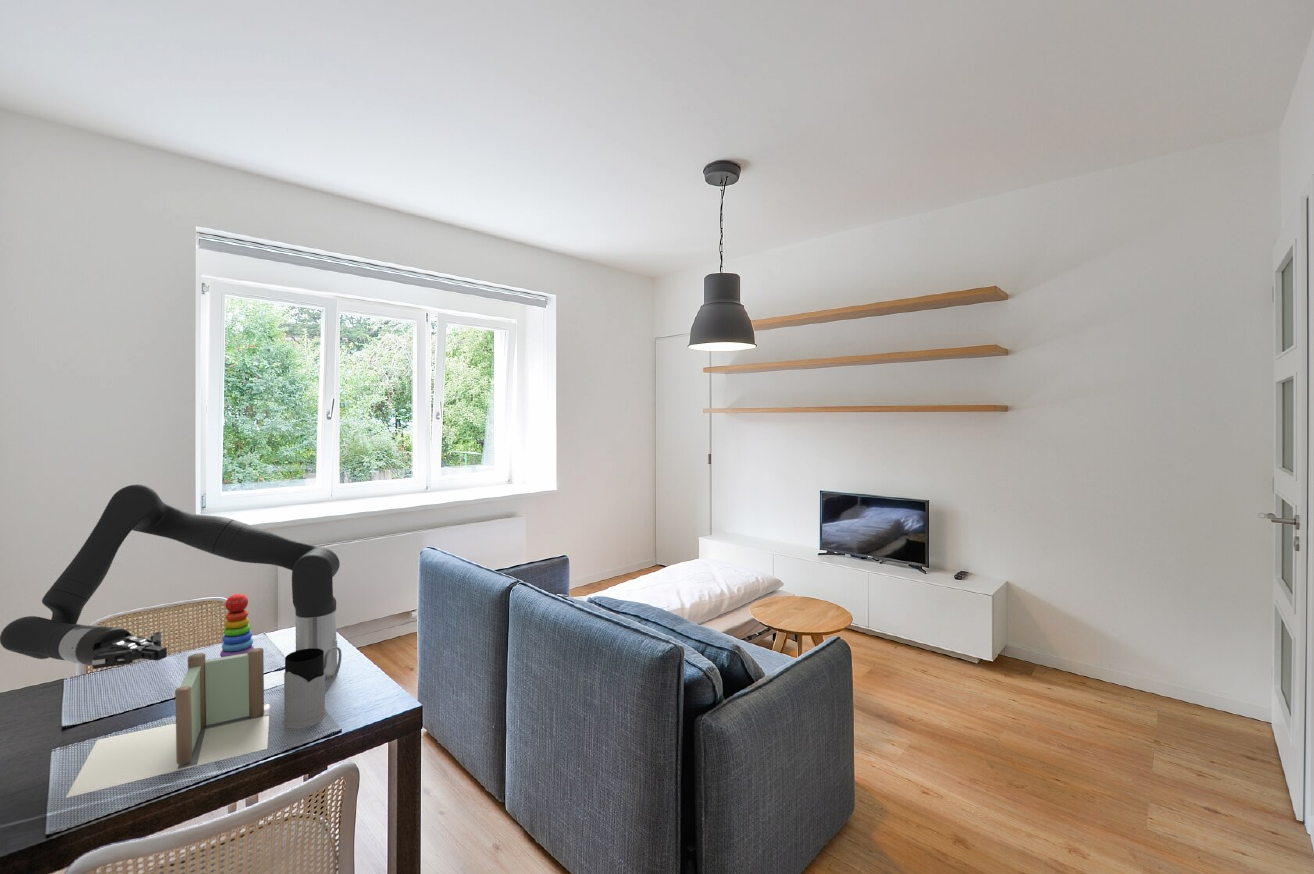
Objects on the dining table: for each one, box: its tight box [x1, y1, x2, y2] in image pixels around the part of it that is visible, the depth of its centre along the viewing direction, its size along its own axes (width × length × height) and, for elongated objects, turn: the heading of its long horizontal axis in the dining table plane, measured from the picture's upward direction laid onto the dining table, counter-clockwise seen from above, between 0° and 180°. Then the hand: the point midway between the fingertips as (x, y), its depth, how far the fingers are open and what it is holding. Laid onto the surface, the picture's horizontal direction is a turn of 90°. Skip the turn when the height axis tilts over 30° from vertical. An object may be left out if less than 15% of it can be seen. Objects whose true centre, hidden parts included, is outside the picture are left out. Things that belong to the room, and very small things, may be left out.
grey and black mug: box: [282, 646, 343, 729], centre depth 134 cm, size 9×14×15 cm, turn 162°
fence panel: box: [174, 666, 201, 764], centre depth 119 cm, size 14×2×15 cm, turn 30°
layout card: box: [65, 703, 271, 799], centre depth 121 cm, size 30×21×1 cm
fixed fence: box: [187, 647, 265, 729], centre depth 129 cm, size 14×3×16 cm, turn 123°
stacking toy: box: [219, 593, 255, 658], centre depth 160 cm, size 8×8×19 cm
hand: (162, 653), depth 115 cm, fingers closed
